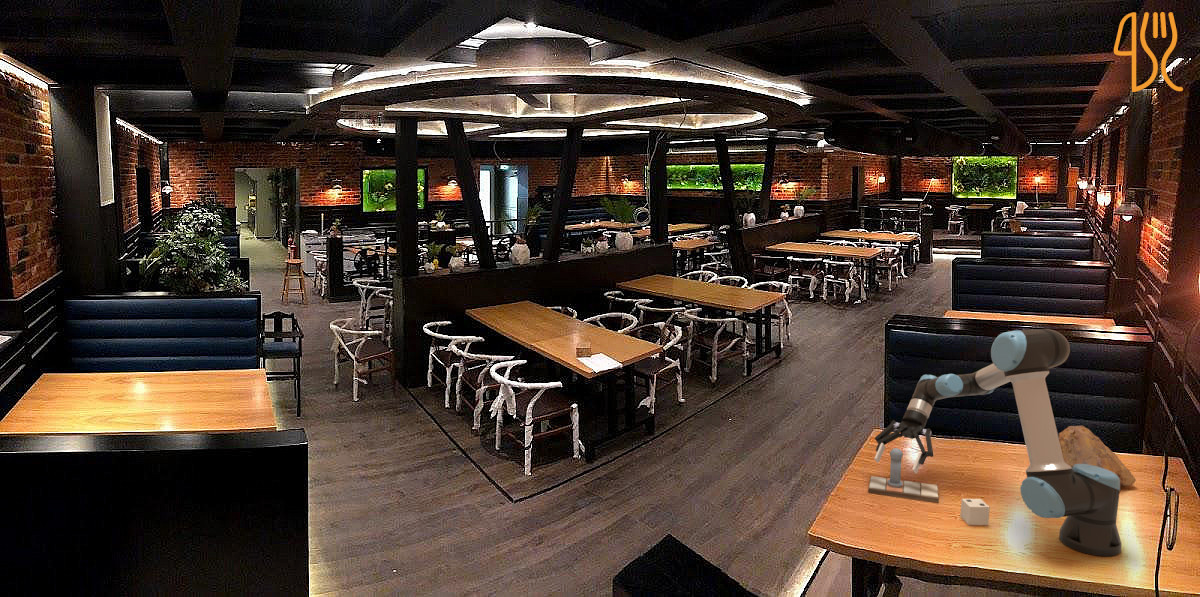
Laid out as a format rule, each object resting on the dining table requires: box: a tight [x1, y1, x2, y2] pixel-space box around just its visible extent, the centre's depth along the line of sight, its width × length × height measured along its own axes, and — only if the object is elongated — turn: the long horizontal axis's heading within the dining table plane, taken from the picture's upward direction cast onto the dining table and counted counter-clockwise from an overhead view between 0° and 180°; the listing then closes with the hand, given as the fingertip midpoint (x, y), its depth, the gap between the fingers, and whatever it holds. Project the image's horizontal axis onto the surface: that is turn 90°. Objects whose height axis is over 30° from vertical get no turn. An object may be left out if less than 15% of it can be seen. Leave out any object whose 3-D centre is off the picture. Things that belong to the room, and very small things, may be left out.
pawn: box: [888, 447, 904, 488], centre depth 252 cm, size 5×5×13 cm
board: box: [868, 475, 940, 504], centre depth 252 cm, size 12×22×2 cm, turn 67°
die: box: [959, 498, 991, 526], centre depth 229 cm, size 6×6×6 cm
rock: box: [1058, 425, 1137, 487], centre depth 262 cm, size 29×18×15 cm, turn 5°
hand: (895, 465), depth 251 cm, fingers open, 13 cm apart
